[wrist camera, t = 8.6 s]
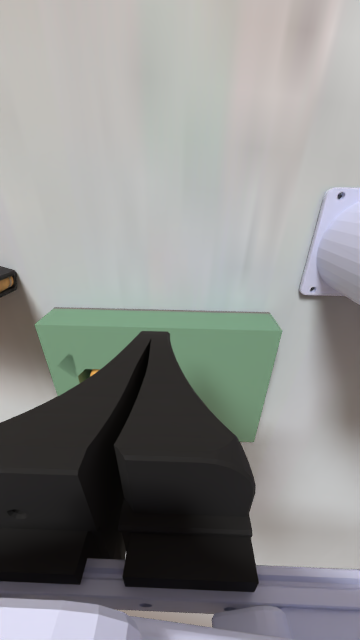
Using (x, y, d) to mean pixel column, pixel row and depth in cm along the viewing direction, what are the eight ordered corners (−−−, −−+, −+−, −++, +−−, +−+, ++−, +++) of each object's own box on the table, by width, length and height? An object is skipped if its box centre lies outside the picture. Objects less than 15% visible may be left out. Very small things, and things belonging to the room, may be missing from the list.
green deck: (269, 312, 21) (282, 330, 18) (247, 416, 28) (253, 442, 25) (55, 307, 22) (34, 324, 19) (82, 411, 28) (70, 435, 26)
